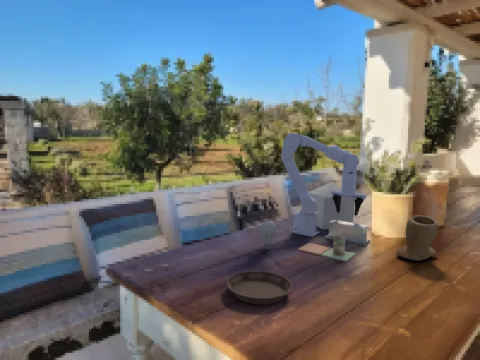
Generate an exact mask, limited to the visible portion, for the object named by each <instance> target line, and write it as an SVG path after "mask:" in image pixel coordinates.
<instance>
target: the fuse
mask: <svg viewBox="0 0 480 360" xmlns="http://www.w3.org/2000/svg"><path fill="white" fill-rule="evenodd" d="M345 241H346V237H345V236H344V235H334V240H333V245H332V246H333V247H332V248H333V254H334V255H337V256H343V255H345V251H346V243H345Z"/></svg>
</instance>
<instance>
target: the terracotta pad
mask: <svg viewBox="0 0 480 360" xmlns="http://www.w3.org/2000/svg"><path fill="white" fill-rule="evenodd" d="M331 248H332V247H329V246H325V245H320V244H315V243H312V242H308V243H306V244H304V245H302V246H301V247H298V248H297V250H298V251H300V252H305V253H308V254H309V253H310V254H312V255H318V256H322V254H323V253H325V252H326V251H328V250H330V249H331Z"/></svg>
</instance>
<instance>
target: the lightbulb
mask: <svg viewBox="0 0 480 360" xmlns="http://www.w3.org/2000/svg"><path fill="white" fill-rule="evenodd" d="M259 232H260V234H261V237H262V239H263V247H264V249H265V250H266V251H269V250H270V249H272V243H273V239H274V236H275V235H276V233H277V225H276V224H275V223H274V222H273V221H271V220H264V221H263V222H262V223H261V224H260V226H259Z"/></svg>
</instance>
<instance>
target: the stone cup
mask: <svg viewBox="0 0 480 360" xmlns="http://www.w3.org/2000/svg"><path fill="white" fill-rule="evenodd" d="M438 226H439V223H438V222H437V221H436V219H433V218H432V217H430V216H427V215H421V214H420V215H419V214H415V215H413V216H411V217H409V218H408V220H407V223H406V227H405V238H406V245H404V246H403V247H400V248H397V249H396V250H395V254H396V255H398V256H399V257H401V258H404V259H406V260H410V261H417V262H419V261H424V260H426V259H429V258H431V257H432V256H434V255H436V254H437V251H436V250H435V249H433V247H431V245H432V242H433V241H434V239H435V238H436V235H437V233H438V228H439V227H438Z"/></svg>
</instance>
